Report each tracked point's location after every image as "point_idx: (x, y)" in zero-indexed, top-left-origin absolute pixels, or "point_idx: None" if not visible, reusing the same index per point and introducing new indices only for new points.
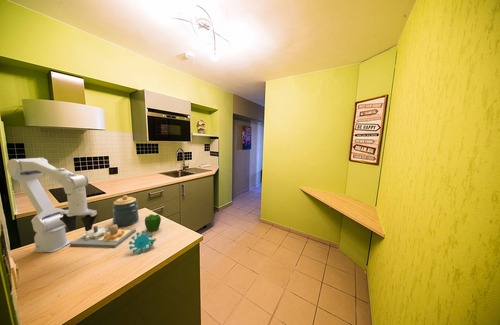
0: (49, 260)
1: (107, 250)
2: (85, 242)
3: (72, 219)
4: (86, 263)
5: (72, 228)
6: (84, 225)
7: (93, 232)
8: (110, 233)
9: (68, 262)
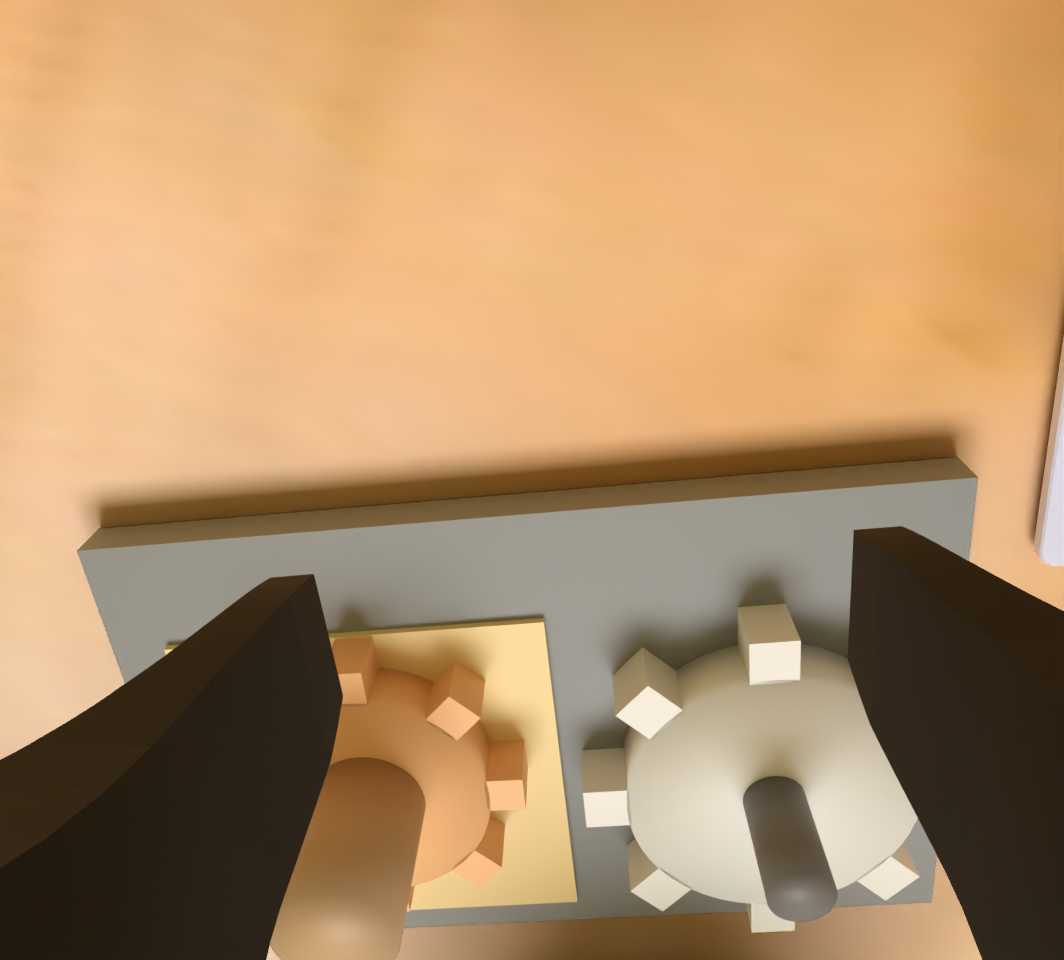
0: (909, 33)
1: (141, 439)
2: (707, 541)
3: (1036, 938)
4: (102, 75)
5: (869, 616)
6: (200, 689)
7: (794, 774)
8: (391, 776)
9: (469, 44)
